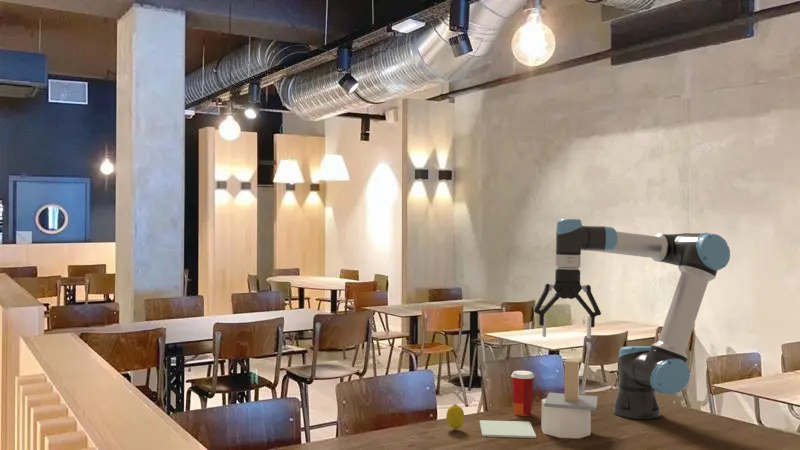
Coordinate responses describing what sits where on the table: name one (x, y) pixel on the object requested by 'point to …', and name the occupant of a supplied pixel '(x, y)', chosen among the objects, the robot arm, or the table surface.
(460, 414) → the lemon
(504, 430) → the mat
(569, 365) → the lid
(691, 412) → the table surface
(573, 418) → the bowl
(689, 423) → the table surface
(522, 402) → the paper cup
